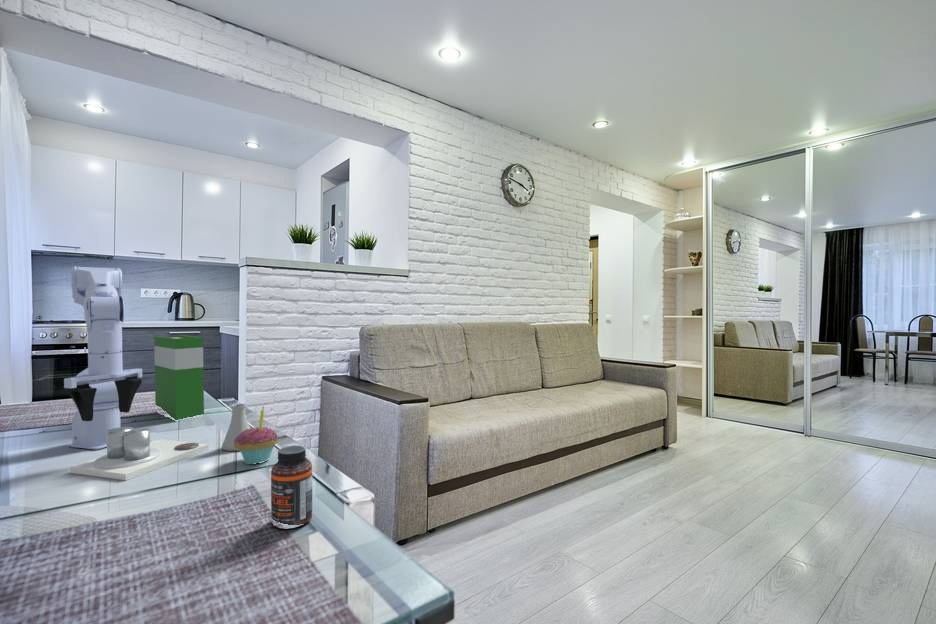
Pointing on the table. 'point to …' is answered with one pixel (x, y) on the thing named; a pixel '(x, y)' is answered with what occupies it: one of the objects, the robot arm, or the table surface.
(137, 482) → the table surface
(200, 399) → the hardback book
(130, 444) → the cylinder
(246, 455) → the cupcake
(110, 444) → the cylinder
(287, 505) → the supplement bottle
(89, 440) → the robot arm
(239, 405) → the flask
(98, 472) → the scale
